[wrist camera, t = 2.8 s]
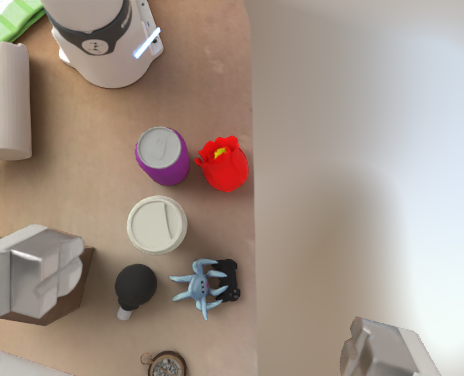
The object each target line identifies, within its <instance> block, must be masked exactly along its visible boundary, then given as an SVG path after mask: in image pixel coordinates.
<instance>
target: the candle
mask: <svg viewBox="0 0 464 376" xmlns="http://www.w3.org/2000/svg"><path fill="white" fill-rule="evenodd" d="M29 89H30V79H29V54H28V50H27V48H26V46H25V45H24V44H21V43H18V44H17V45H15V44H12V43H9V42H4V41H1V42H0V161H3V160H5V161H12V160H23V159H27V158H30V157H31V156H32V146H31V116H30V94H29Z"/></svg>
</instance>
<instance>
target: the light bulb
mask: <svg viewBox="0 0 464 376" xmlns="http://www.w3.org/2000/svg"><path fill="white" fill-rule="evenodd" d="M156 287H157V279H156V276H155V274H154V272H153V271H152V270H151V269H150V268H149V267H147V266H145V265H142V264H134V265H130V266H128V267H126V268H125V269H123V270H122V271H121V272H120V274H119V275H118V277H117V279H116V283H115V290H116V294H117V296H118V298H119V299H118V302H119V304H120V308H119V310H118V313H117V318H118V319H120V320H124V321H125V320H128V319H129V318H130V316H131V313H132V311H133V310H134V309H137V308H138V307H139V305H142V304H144V303H146V302H147V301H149V300H150V299H151V298H152V296H153V295H154V293H155V291H156Z"/></svg>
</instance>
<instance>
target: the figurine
mask: <svg viewBox="0 0 464 376" xmlns="http://www.w3.org/2000/svg"><path fill="white" fill-rule="evenodd" d="M208 264H211V266H212V267H214V268H216V269H218V271H215V270H210V271H208V272H207V273H206V274H205V275H204V273H203V267H202V265H208ZM192 267H193V270H194V272H195V273H194V274H193V275H186V276H168V277H169V278H170V279H171V280H172V281H175V282H189V289H188V291H186V292H184V293H181V294H178V295H176V296H175V297H174V298H173V299H172V301H180V300H182V299H186V298H193V299H194V300H195V301H196V307H197V309H198V310H200V311H202V313H203V317H204V319H205V320H206V321H207V310H210V309H213V308H215V307H216V306H217V305H219V304H220V303H221V302H227V301H236V300H237V299H238V298H239V297H240V290H239V289H238V288H237V280H236V272H235V270H236V269H237V264H236V262H235V261H233V260H231V259H226V260H217V261H214V260H212V259H207V258H204V259H197V260H195V261H194V262H193V264H192ZM209 277H218V278H219V280H221V282H220V283H219V289H217V290H213V289H212V288H210V287H209V284H208V278H209ZM209 294H210V295H213V296H217V295H218V296H217V297H216V298H215V300H216V302H211V303H206V296H208V295H209Z"/></svg>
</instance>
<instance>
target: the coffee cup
mask: <svg viewBox="0 0 464 376" xmlns="http://www.w3.org/2000/svg"><path fill="white" fill-rule="evenodd" d="M127 232H128V236H129V238H130V240H131V242H132V243H133V245H134V246H135V247H136V248H137V249H139V250H140V251H142V252H144V253H146V254H150V255H163V254H167V253H169V252H171V251H173V250H174V249H176V248H177V247H178V246H179V245H180V244H181V242H182V241H183V239H184V237H185V235H186V232H187V217H186V214H185V212H184V210H183V208H182V207H181V206H180V205H179V204H178V203H177V202H176V201H175V200H173V199H171V198H169V197H166V196H151V197H148V198H145V199H143V200H141V201H140V202H138V203H137V204H136V205H135V206H134V207H133V209H132V210H131V212H130V214H129V217H128V220H127Z"/></svg>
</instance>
